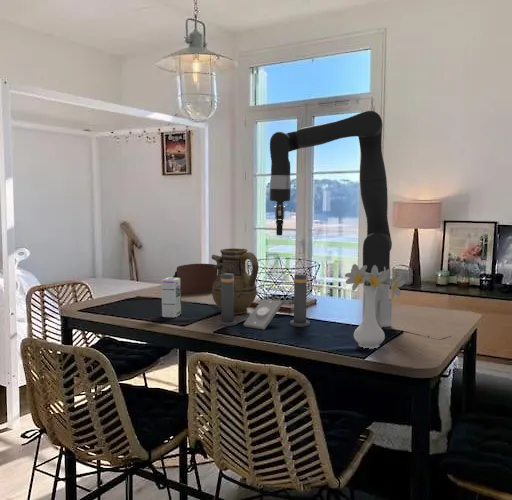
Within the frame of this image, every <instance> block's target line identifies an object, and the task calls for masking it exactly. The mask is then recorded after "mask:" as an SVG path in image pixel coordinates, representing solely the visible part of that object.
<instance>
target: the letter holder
mask: <svg viewBox="0 0 512 500" xmlns="http://www.w3.org/2000/svg"><path fill="white" fill-rule="evenodd" d="M215 265H216V264H214V263H213V264H212V263H189V264H183V265H179V266H177V267H176V271H175V272H174V275H173V276H172V277H176V278H180V286H181V295H182V294H184V295H185V294H200V293H201V294H202V293H203V294H204V293H212V286H213V283H214V282H215V280H216V279H217V276H218V269H215V268H214V266H215Z"/></svg>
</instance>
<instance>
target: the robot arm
mask: <svg viewBox="0 0 512 500" xmlns="http://www.w3.org/2000/svg"><path fill="white" fill-rule="evenodd" d="M382 134H383V119H382V117H381V115H380V114H379V113H378V112H377V111H374V110H365V111H362V112H360V113H357V114H354V115H353V116H352V115H351V116H349V117H346V118H344V119H338V120H336V121H330V122H326V123H321V124H316V125H311V126H306V127H302V128H301V127H300V128H298V129H297V130H296V131H290V132H283V131H276V132H274V133H273V134H272V135H271V137H270V141H269V153H270V160H271V165H270V168H271V169H270V181H269V201H270V202H276V205H275V206H274V219H275V224H276V236H282V235H283V227H284V219H285V213H286V212H285V211H286V206H284V202H290V201H291V188H292V186H291V184H292V183H291V182H292V181H291V161H290V160H289V156H290V155H289V152H292V151H293V152H294V151H297V150H300V149H304V148H305V149H306V148H312V147H315V146H316V147H317V146H320V145H324V144H327V143H330V142H333V141H336V140H340V139H345V138H350V137H351V138H352V137H358V142H359V149H360V165H359V186H360V189H359V190H360V197H361V201H362V205H363V208H364V212H365V213H364V214H365V217H366V226H367V227H366V228H367V231H366V233H367V234H366V237H365V239H364V240H363V245H362V267H363V266H365V265H367V269H366V270H365V272H368V273H371V270H372V268H373V266H374V265H376V266H377V268H378V273H380V272H382V271H384V267H385V268H386V272H387V270H388V269H389V270H390V271H391V267H390V262H391V260H390V259H391V258H390V257H391V249H392V247H393V241H392V237H391V233H390V231H391V230H390V226H389V222H388V221H389V220H388V209H389V208H388V205H389V203H388V181H387V179H388V178H387V171H386V166H385V162H384V158H383V151H382V148H383V147H382V138H383V135H382ZM390 278H391V277H390ZM390 278H388V279H390ZM365 281H366V282H367V284H368V281H367V280H366V279H365ZM362 285H364V283H362ZM362 289H363V290H362V319H363V318H364V312H365V291H364V287H363V286H362ZM390 291H391V286H390V285H388V284H387V287H386V290H381V289H380V288H377V291H376V296H375V316H376V321H377V323H378V325H379V327H380V328H381V329H383V327H384V328H387V327H388V328H389V327H391V326H392V311H393V310H392V305H393V304H392V302H393V301H392V300H393V299H390V298H391V296H390V293H391V292H390Z"/></svg>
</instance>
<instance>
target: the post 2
mask: <svg viewBox="0 0 512 500" xmlns="http://www.w3.org/2000/svg"><path fill="white" fill-rule="evenodd" d="M307 277H308V276H307V274H306V273H296V274H294V277H293V282H294V283H293V284H294V285H293V289H294V290H293V291H294V292H293V319H292V320H290V321H289V325H290V326H293V327H298V328H299V327H300V328H304V327H309V326H310V325H311V324H310V323H311V321H310V320H308V319H307V294H308V293H307V289H308V288H307V287H308V284H307V283H308V278H307Z"/></svg>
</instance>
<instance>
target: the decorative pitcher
mask: <svg viewBox="0 0 512 500" xmlns="http://www.w3.org/2000/svg"><path fill="white" fill-rule="evenodd" d="M219 251H220V254H221V255H218V254H212V255H211V259H212V260H213V261H215V262H216V264H214V265H215V266H214V268H215V269H217V279H216V280H215V282H214V283H213V286H212V292H211V295H212V300H214V304H216V305H217V307H218V308H219V309H221V274H225V273H230V274H234V315H243V314H245V313H247V312H248V308H249V307H251V305H253V303H254V301H255V300H256V297H257V292H258V291H257V289H258V288H257V285H256V280H257V278H258V273H259V261H258V258H257V257H256V255H255V254H254V253H253V252H251V251H248V249H247V248H234V247H233V248H231V247H230V248H222V249H220V250H219ZM247 260H249V261H250V263H251V266H252V267H251V268H252V269H251V274H248V272H247V269H246V268H247V267H246V261H247Z"/></svg>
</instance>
